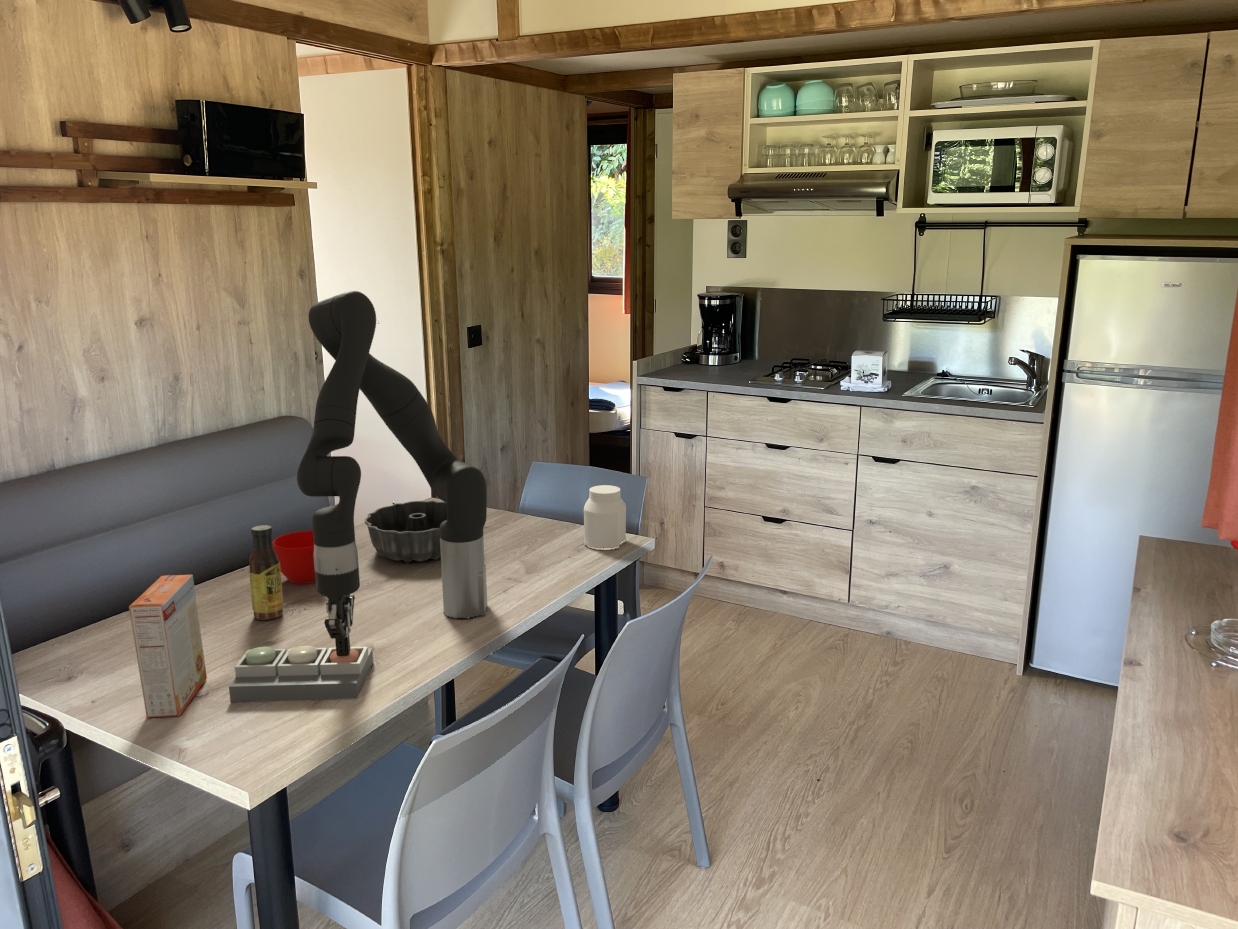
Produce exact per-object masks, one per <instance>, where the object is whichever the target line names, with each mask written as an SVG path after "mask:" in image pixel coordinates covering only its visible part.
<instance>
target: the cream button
mask: <svg viewBox="0 0 1238 929" xmlns="http://www.w3.org/2000/svg"><path fill="white" fill-rule="evenodd" d="M316 648H317V647H316V646H314V645H300V646H295V647H293V648H290V649H291V650H290V651H289V652H288V661H289V663H290V664H309V663H312V662H314V661H315V660H316V659H317V649H316Z"/></svg>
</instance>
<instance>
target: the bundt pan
mask: <svg viewBox="0 0 1238 929" xmlns="http://www.w3.org/2000/svg"><path fill="white" fill-rule="evenodd" d="M446 520H447V503H446V502H444V501H437V500H432V499H431V500H428V501H427V500H411V501H406V502H402V503H401V502H399V503H398V502H397V503H396V502H395V503H394V504H391V505H385V506H382V507H380V508H376V509H375V510H374V511H373V512H370V513H367V516H366V518H364V524H365V525H366V526H367V530H368V533H369V538H370V541H371V545H372V547H373V548H374V550H375V552H376V553H378V555H379V556H380V557H383V558H385V559H390V560H392V561H402V560H403V561H404V563H407V562H408V563H410V562H412V561H413V560H414V561H417V562H426V561H427V560H429V559H431V560H433V559H435V560H434V561H436V560H438V559H440V558H441V550H440V530H439V529H440V525H441V523H442V522H444V521H446Z"/></svg>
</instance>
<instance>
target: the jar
mask: <svg viewBox="0 0 1238 929" xmlns="http://www.w3.org/2000/svg"><path fill="white" fill-rule="evenodd" d="M621 491H622V490H621V488H620V487H619V486H615V485H611V484H610V485H608V484H602V485H601V484H600V485H594V486H592V487H590V488H589V491H588V492H589V493H588V496H589V497H588V499H587V500H586V502H585V503H584V507H583V530H584V531H583V534H584V535H583V536H584V537H583V539H584V540H583V545H584V544H585V545H587V546H590V547H594V548H603V549H604V548H614V547H618V546H619V545H620V543H621V542H622V541H624V540H626V541H627V535H626V534H627V532H626V531H627V530H626V529H627V524H626V523H627V517H626V516H627V514H626V513H627V505H626V503H625V502H624V500H623V499H622V498H621ZM585 545H584V546H585ZM620 546H621V545H620Z"/></svg>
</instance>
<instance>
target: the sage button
mask: <svg viewBox="0 0 1238 929" xmlns="http://www.w3.org/2000/svg"><path fill="white" fill-rule="evenodd" d="M275 649H276V648H274V647H271V646H259V647H254V648H252V649H249V650H250V651H248V652H247V653H246V652H245V653H246V663H247V664H248V665H268V664H270V663H272V662H274V661H275V659H276V656H275Z"/></svg>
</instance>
